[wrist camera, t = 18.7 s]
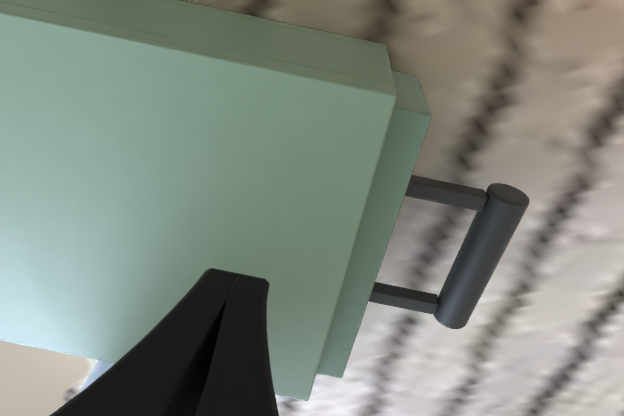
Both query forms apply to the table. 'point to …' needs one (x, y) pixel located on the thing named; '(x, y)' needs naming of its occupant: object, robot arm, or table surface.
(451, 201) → the drawer
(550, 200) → the table surface
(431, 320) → the table surface
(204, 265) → the cabinet
